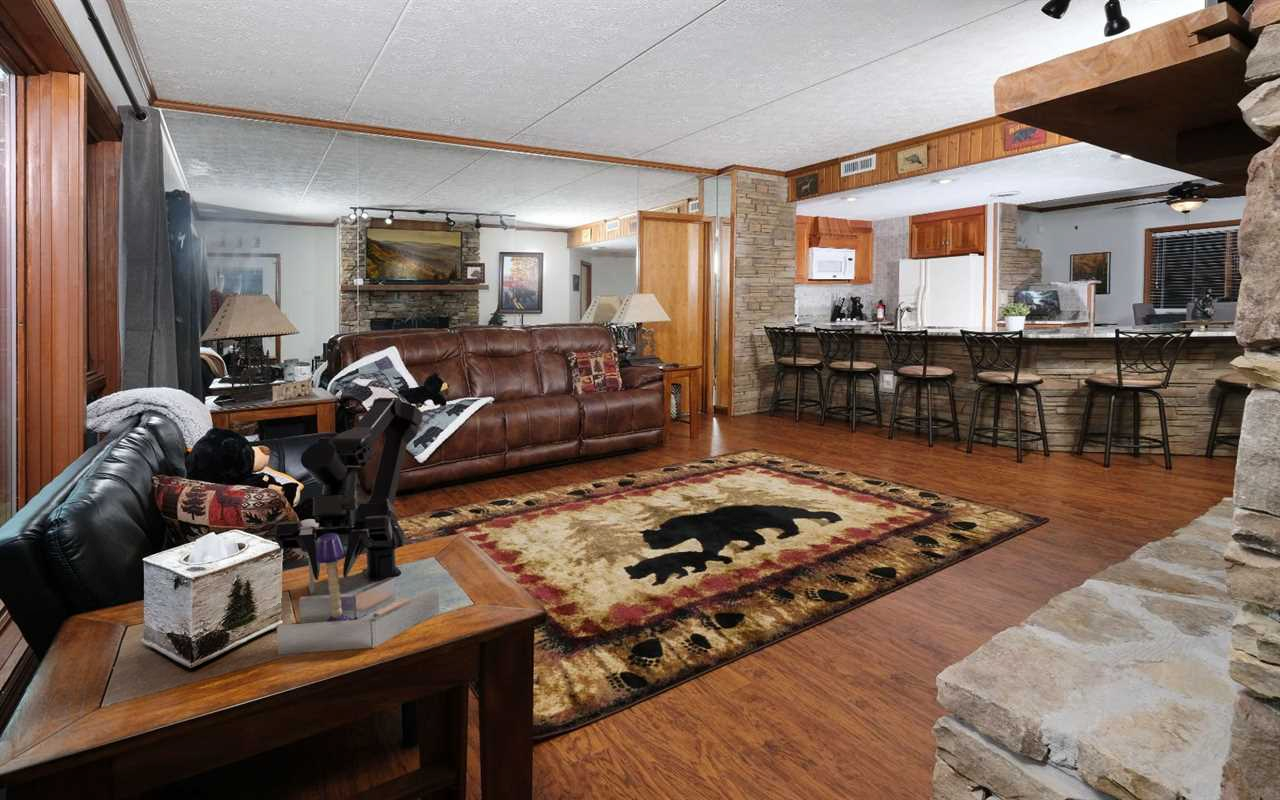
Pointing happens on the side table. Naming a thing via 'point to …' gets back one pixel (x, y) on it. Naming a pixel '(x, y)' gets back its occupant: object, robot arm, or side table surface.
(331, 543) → the toy lamp
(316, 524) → the lollipop
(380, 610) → the end pad
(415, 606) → the bent rails
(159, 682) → the side table surface
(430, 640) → the side table surface
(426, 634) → the side table surface
